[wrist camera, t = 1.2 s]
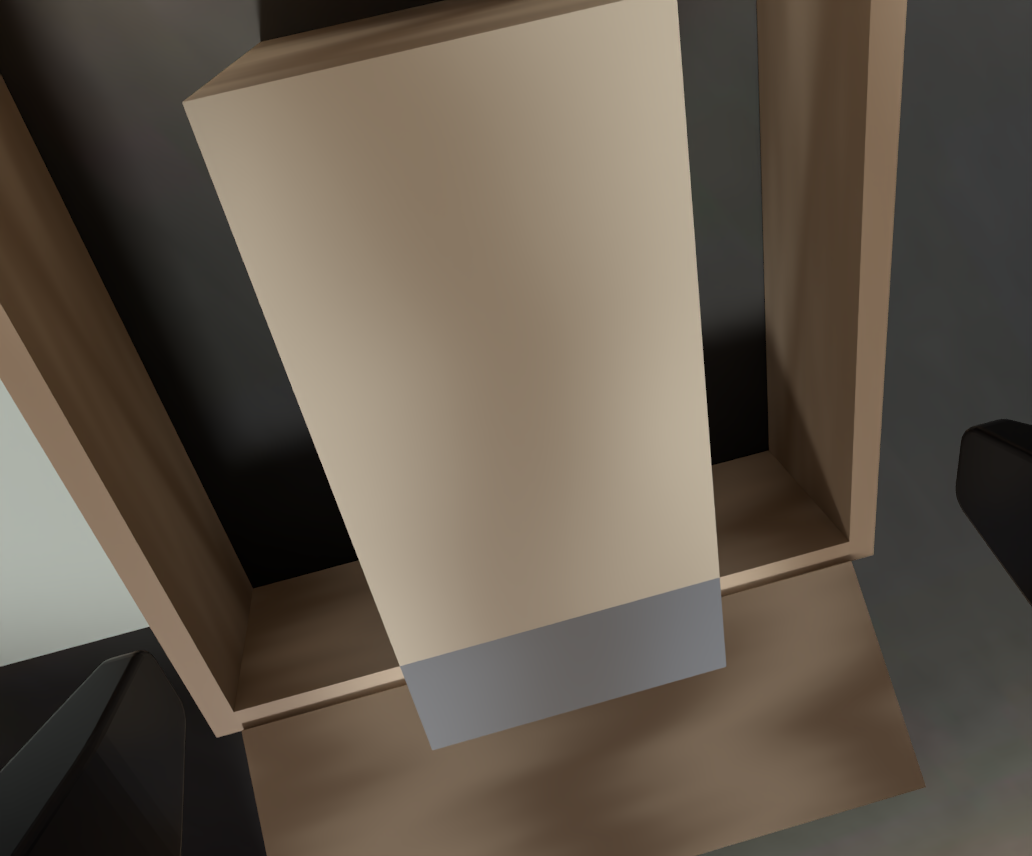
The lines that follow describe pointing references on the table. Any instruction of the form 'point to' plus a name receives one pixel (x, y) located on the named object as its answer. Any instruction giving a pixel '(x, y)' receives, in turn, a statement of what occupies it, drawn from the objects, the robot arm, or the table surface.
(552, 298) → the box
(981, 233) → the table surface
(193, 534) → the carton
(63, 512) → the mat
